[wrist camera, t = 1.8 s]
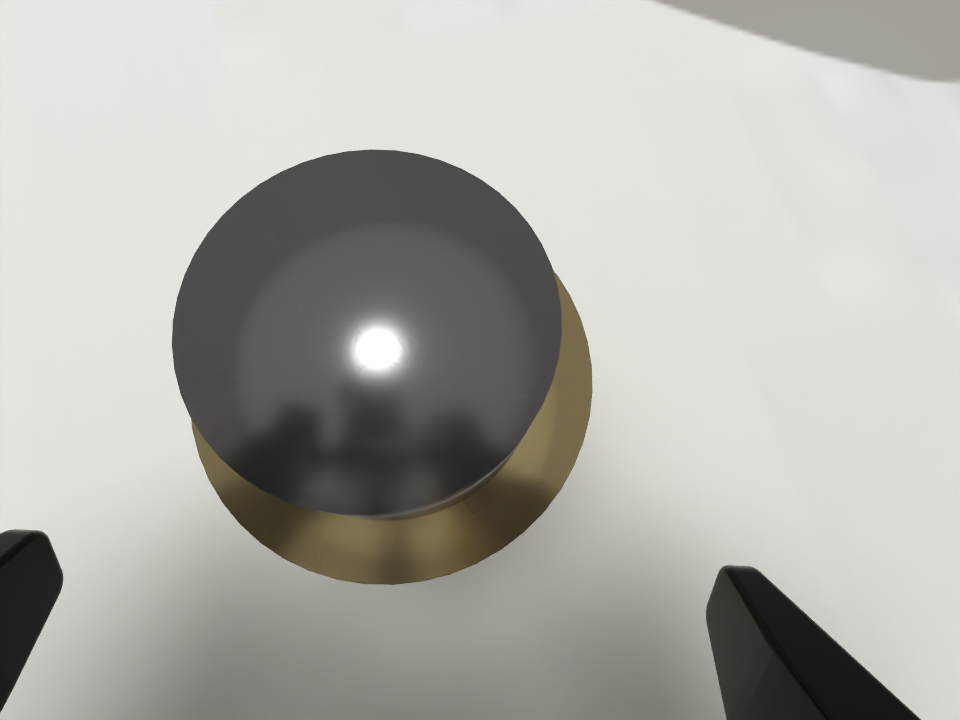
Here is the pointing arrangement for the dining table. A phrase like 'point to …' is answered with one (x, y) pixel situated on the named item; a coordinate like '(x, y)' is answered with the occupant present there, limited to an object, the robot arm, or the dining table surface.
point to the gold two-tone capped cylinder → (380, 367)
